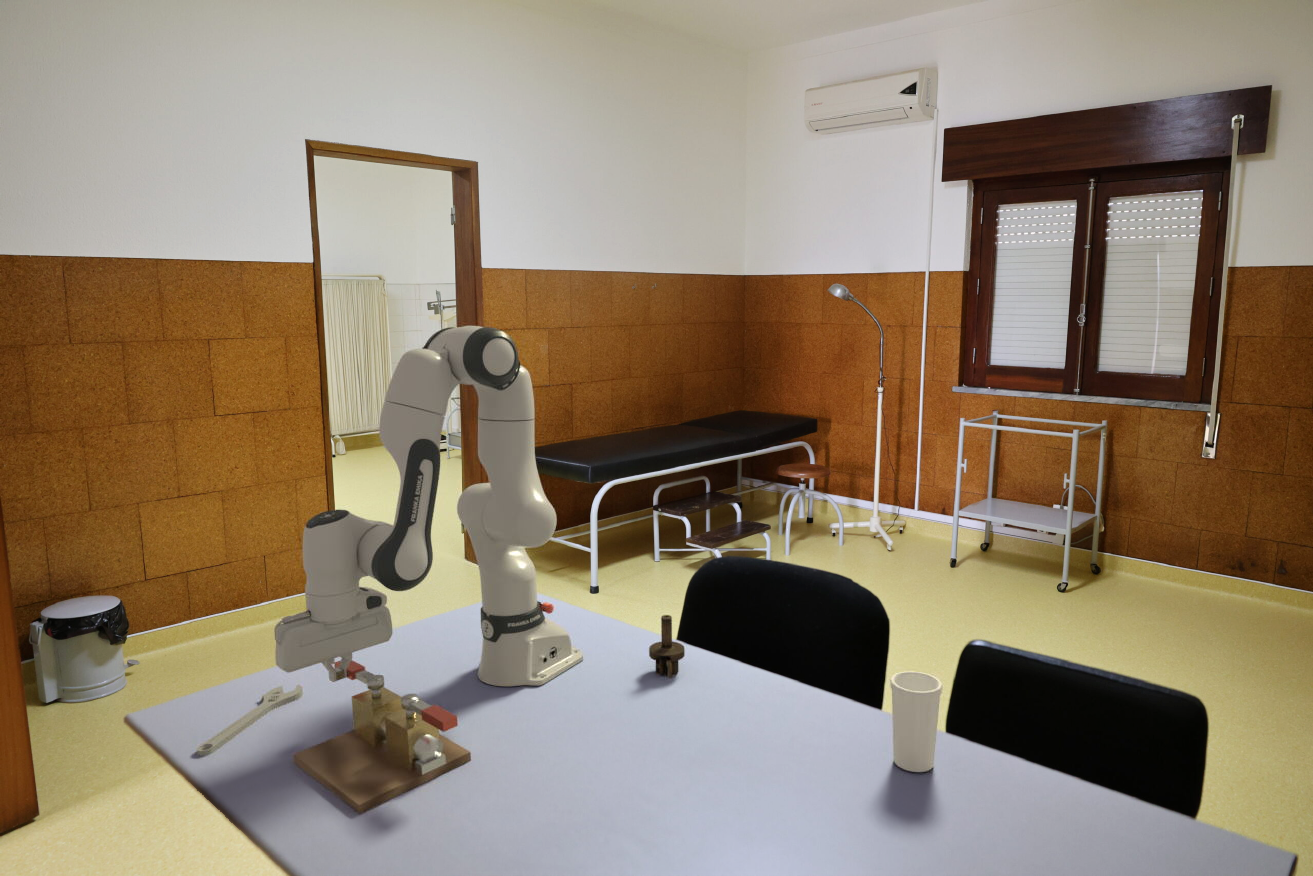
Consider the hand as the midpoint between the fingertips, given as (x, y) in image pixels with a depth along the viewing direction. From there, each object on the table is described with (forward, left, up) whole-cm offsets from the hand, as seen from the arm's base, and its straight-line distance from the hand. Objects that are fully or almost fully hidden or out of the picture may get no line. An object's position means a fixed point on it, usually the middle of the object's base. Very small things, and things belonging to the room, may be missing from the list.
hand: (338, 679), depth 151 cm
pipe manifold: (-3, +17, -9) cm, 19 cm away
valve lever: (-3, +3, 0) cm, 4 cm away
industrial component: (-57, +27, -11) cm, 64 cm away
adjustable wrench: (+9, -18, -11) cm, 23 cm away
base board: (0, +14, -10) cm, 17 cm away
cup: (-57, +81, -11) cm, 99 cm away
